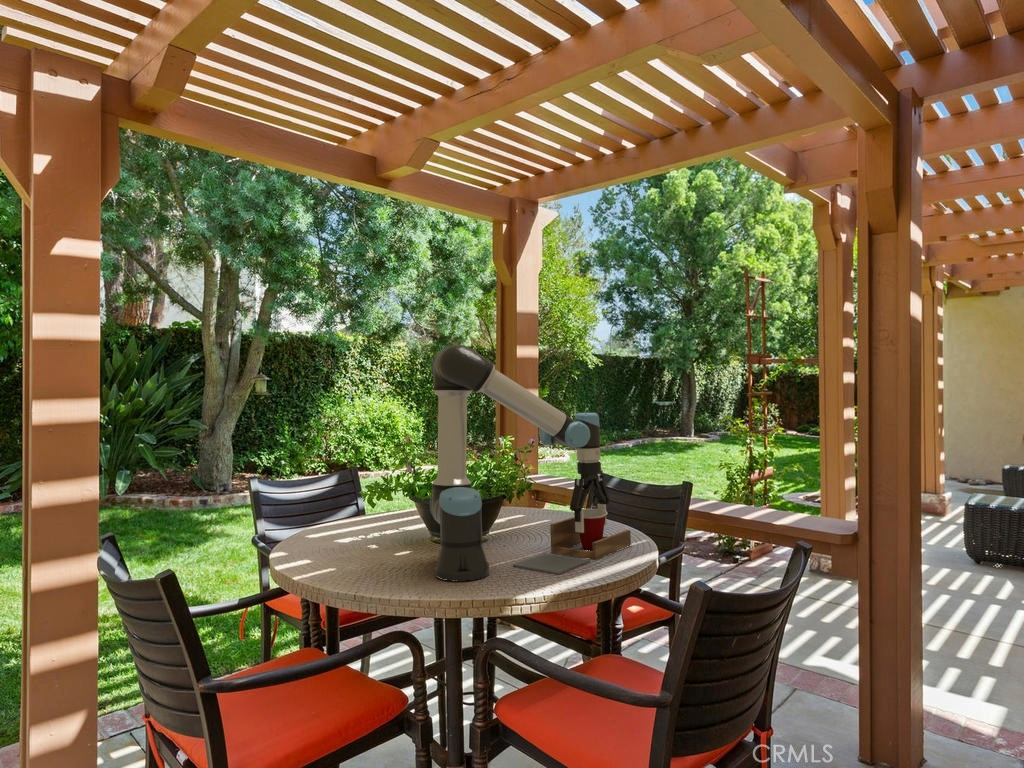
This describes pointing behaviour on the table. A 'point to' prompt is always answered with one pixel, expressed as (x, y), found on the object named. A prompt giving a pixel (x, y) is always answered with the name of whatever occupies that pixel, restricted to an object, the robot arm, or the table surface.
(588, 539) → the plastic cup
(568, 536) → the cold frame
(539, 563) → the mat
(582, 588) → the table surface
